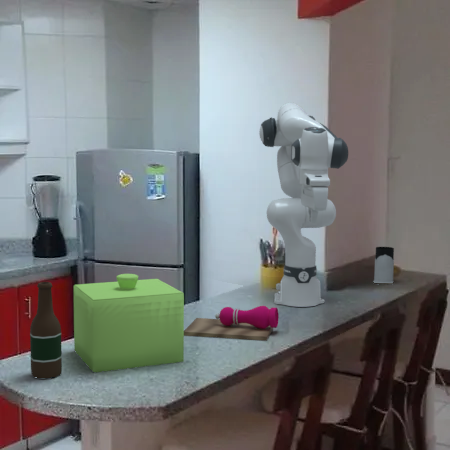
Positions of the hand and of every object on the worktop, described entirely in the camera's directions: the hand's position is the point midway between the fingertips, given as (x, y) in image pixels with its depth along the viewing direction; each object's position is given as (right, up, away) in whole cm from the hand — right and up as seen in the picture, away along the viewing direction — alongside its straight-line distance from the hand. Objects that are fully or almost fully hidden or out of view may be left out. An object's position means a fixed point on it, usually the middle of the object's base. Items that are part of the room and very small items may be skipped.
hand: (312, 222), depth 238 cm
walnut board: (-26, -34, -2) cm, 43 cm away
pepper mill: (-12, -30, -5) cm, 32 cm away
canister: (-55, -38, -30) cm, 73 cm away
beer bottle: (-74, -39, -47) cm, 96 cm away
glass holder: (+40, -25, +81) cm, 94 cm away
